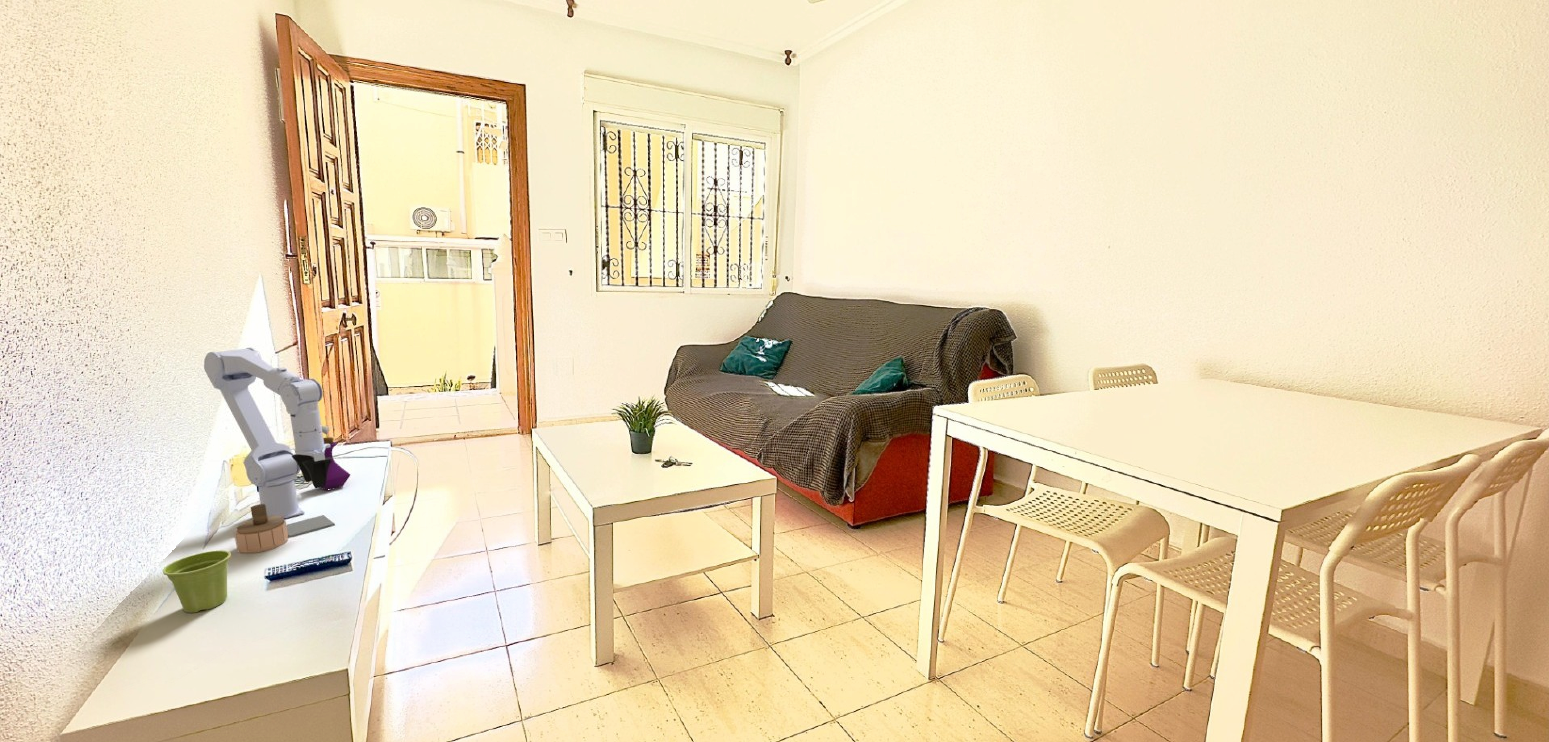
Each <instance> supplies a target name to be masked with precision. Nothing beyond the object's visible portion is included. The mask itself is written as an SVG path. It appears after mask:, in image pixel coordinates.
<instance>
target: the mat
mask: <svg viewBox="0 0 1549 742" xmlns="http://www.w3.org/2000/svg"><path fill="white" fill-rule="evenodd" d="M335 525H336V524H335V522H333V521H332V520H331V519H330V518H328V517H327V516H326V515H324V514H322V515H318V516H315V517H310V518H306V519H304V520H300V521H295V522H291V523H289V524H287V523H286V526H287V532H288V538H294V537H297V536H301V535H304V534H308V533H311V532H315V531H318V530H322V529H325V528H330V527H332V526H333V527H334V526H335Z"/></svg>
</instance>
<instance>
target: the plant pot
mask: <svg viewBox="0 0 1549 742" xmlns="http://www.w3.org/2000/svg"><path fill="white" fill-rule="evenodd" d="M231 555H232V554H231V552H230V551H228V550H224V549H223V550H209V551H205V552H199V553H195V554H192V555H188V556H185V557H182V558H179V559H177V560H175V561H173V562H171V563H169V564H167V565H166V566H165V567H163V568H162V574H163V575H165V576H167V578H168V580H169V581H170V582H171V583H172V585H173V588H174V590H175V592H176V594H177V598H178V600H179V601H180V604H181V606H182V609H183V611H184V612H185V613H190V614H191V613H192V614H193V613H194V614H195V613H198V612H199V611H203V610H208V611H209V610H211V609H214V608H215V607H218V606H220V605H222V604H223V603H224V602H226V600H227V598H228V565H229V560H230V558H231Z"/></svg>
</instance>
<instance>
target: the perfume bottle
mask: <svg viewBox="0 0 1549 742" xmlns="http://www.w3.org/2000/svg"><path fill="white" fill-rule="evenodd" d="M321 426H322V433H323V434H324V435H325V436H326V437H323V440H324V444H330V447H329V448H326V449H325V451H324V456H325V458H327V457H331V458H332V461H331V463H330V465H329V468H328V472H327V480H326V486H324V487H320V489H322V488H323V489H322V490H324V489H326V490H325V491H329V490H328V489H331V490H334V489H333V488H335V489H338V488H341V487H340V486H342V487H344V485H345V484H346V483H347V481H348V480H349V478H350V477H351V473H349V471H346V470H345V469H344V468H343V467H342V466H340V464H338V463H337V462H336V460H335V459H334V457H333V449H334V448H335V447H336V446H337V442H335V441H334V437H333V436H329V437H328V433H329V431H330V427H329V426H328V425H321ZM337 487H338V488H337Z"/></svg>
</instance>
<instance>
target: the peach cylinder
mask: <svg viewBox="0 0 1549 742" xmlns="http://www.w3.org/2000/svg"><path fill="white" fill-rule="evenodd" d="M286 525H287V521H286V520H285V519H284V523H283V524H282V525H280V526H278V527H276V528H274V529H271V530H267V531H264V532H259V533H253V534H240V533H238V532H237V529H235V530H234V531H233V535H234V541H235V546H236V548H237V553H239V552H240V553H239V554H245V555H249V554H259V553H262V552H265V551H271V550H273V549H276V548H278V547H281V546H282V545H284V544H287V542H288V541H289V540H288V539H289V536H288V532H287V526H286Z"/></svg>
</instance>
